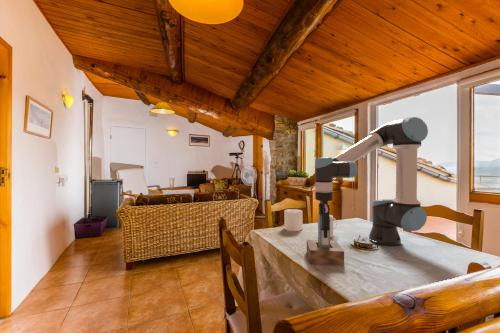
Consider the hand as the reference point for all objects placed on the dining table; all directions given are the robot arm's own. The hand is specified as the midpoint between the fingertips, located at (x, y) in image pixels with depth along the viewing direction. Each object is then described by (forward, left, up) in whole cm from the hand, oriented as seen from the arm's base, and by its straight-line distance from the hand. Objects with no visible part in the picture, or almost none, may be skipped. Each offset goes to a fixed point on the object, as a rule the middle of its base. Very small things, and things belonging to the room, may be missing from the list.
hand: (324, 242), depth 108 cm
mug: (-9, -35, -7) cm, 37 cm away
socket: (0, 0, -7) cm, 7 cm away
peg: (0, 0, -4) cm, 4 cm away
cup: (+11, -48, -7) cm, 50 cm away
